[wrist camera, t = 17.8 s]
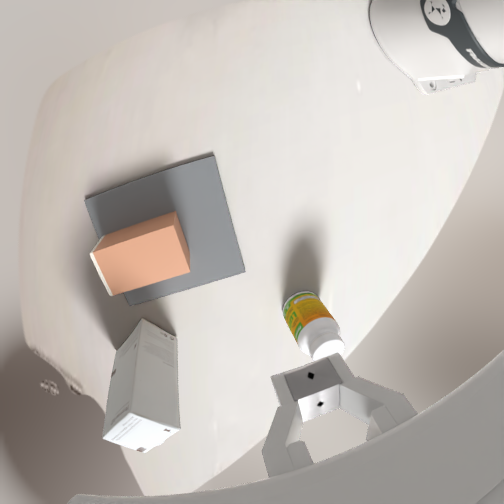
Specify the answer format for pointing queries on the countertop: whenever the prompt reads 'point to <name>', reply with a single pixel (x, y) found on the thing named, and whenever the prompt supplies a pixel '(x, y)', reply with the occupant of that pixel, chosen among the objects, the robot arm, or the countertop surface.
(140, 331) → the skincare box
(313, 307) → the supplement bottle
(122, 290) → the block
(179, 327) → the countertop surface
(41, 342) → the countertop surface
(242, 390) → the countertop surface
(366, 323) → the countertop surface
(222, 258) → the mat
